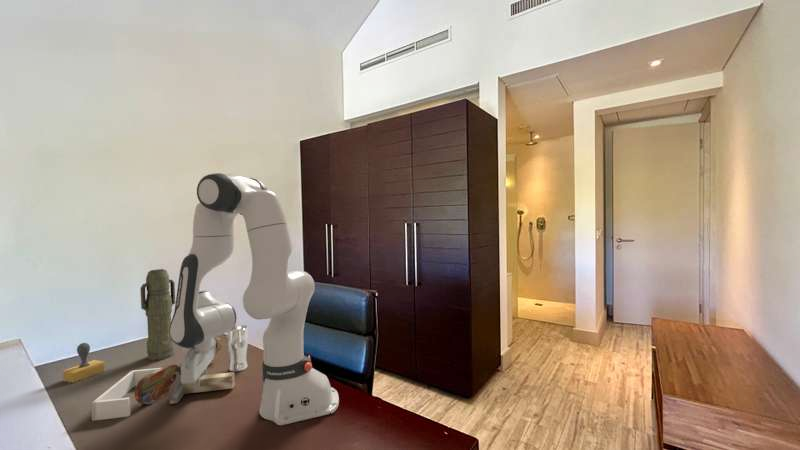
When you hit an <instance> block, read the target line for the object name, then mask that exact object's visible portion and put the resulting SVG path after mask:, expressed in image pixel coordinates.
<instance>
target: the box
mask: <svg viewBox="0 0 800 450" xmlns="http://www.w3.org/2000/svg"><path fill="white" fill-rule="evenodd" d="M160 368H161V367H155V368H144V369H135V370H130V371H129V372H127V374H126V375H125V376H123V377H121V378H120V380H118V381H117V382H116V383H115V384H113V385H112V386H110V388H108V389H107V390H106V391H105V392H103V393H102V394H101V395H100V396H98V397H97V398H96V399H95V400H93V401H92V402H91V405H90V407H91V421H102V420H109V419H110V420H111V419H118V418H128V417H130V416H131V415H132V414H131V412H132V411H131V397H130V396H129V397H124V396H125V395H126V394H128V392H130V391H131V390H132V389H134V388H135V387H136V386H137V384H138V382H139V381H140V380H141V379H142V378H143V377H145V376H146V375H148V374H150V373H152V372H154V371H156V370H158V369H160Z"/></svg>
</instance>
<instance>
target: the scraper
mask: <svg viewBox="0 0 800 450" xmlns="http://www.w3.org/2000/svg"><path fill="white" fill-rule="evenodd" d="M235 377H236V375H235V372H233V371H230V372H223V373H214V374H206V375H201V376H200V381H201V387H200V388H199V389H194V388H193V383H192V384H182V383H181V375H180V376H179V377H178V378H177V379H176V380H175V381H174V383H173V384H172V385H171V386H170V387H169V404H177V403H179V401H181V399H182V398H183V397H184V395H185V394H194V393H195V394H197V393H204V392H205V393H206V392H212V391H221V390H222V391H223V390H229V389H233V388H234V386H235V385H236V382H235V381H236V379H235Z"/></svg>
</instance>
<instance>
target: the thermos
mask: <svg viewBox="0 0 800 450" xmlns="http://www.w3.org/2000/svg"><path fill="white" fill-rule="evenodd" d="M175 285H176V284H175V281H174V280H173V279H170V276H169V273H168V271H167V270H166V269H163V268H161V269H152V270H150V271H148V272H147V274H146V278H145V283H143V284H142V285H141V286H140V289H139V290H140V308H141V310H143V311H145V316H146V319H147V338H148V339H147V342H146V353H147V360H148V361H161V360H165V359H168V358H170V357H171V358H172V356H173V355H174V348H175V346H174V344H175V343H174V342H173V341H172V340H171V337H170V333H169V329H170V324H171V321H172V312H173V306H174V305H175V303H176V288H175ZM146 293H147V294H146Z"/></svg>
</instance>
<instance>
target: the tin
mask: <svg viewBox="0 0 800 450" xmlns="http://www.w3.org/2000/svg"><path fill="white" fill-rule="evenodd" d="M159 368H160V369H158V370H156V371H154V372H152V373H150V374H148V375H146V376H145V377H143V378H142V379H141V380H140V381H139V382H138V384H137V386H135V387H134V388H135V389H134V396H135V397H134V398H135V400H136V402H137V403H138V404H141V405H152V404H154V403H157V402H158V401H159V400H161V399H162V398H165V396H167V395H170V393H169V387H170V386H171V385H172V384H173V383H174V381H175V380H176V379H177V378H178V377H179V376H180V375H181V366H179V365H178V364H166V365H164V366H162V367H159Z"/></svg>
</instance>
